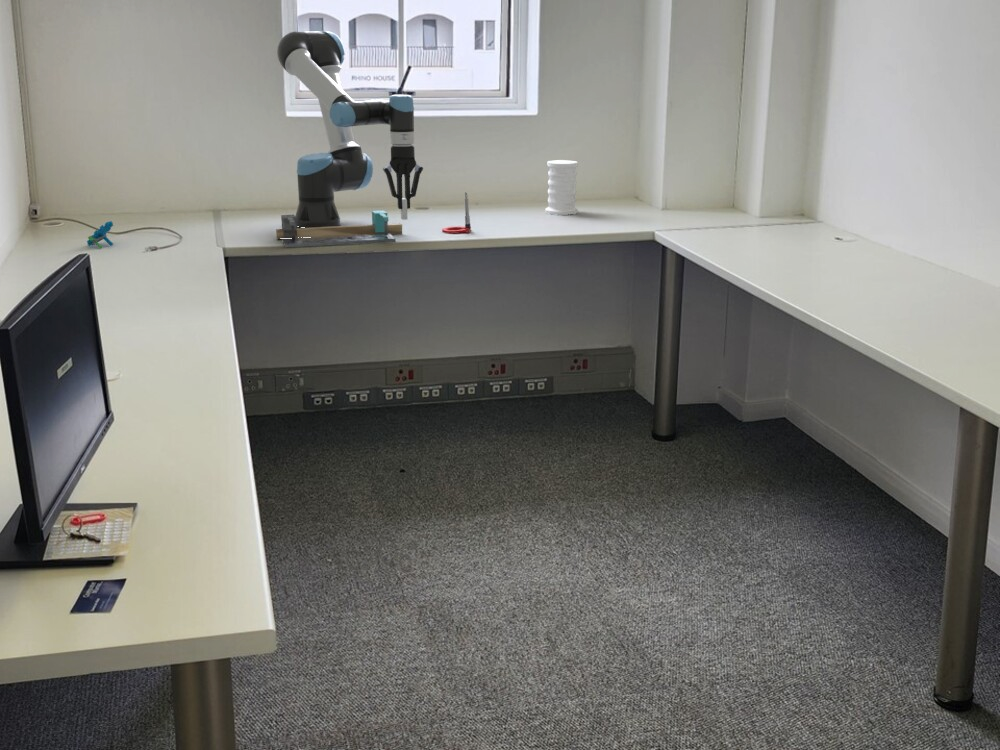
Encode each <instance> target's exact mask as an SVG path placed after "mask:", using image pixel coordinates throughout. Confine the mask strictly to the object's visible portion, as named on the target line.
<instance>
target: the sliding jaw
mask: <svg viewBox="0 0 1000 750" xmlns="http://www.w3.org/2000/svg"><path fill="white" fill-rule="evenodd" d="M371 221H372V223H371V225H373V224H374V225H375V233H377V232H385V235H388V224H389V223H388V222H389V216H388V212H387V211H385V210H371Z"/></svg>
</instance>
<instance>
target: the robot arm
mask: <svg viewBox="0 0 1000 750" xmlns="http://www.w3.org/2000/svg"><path fill="white" fill-rule="evenodd" d="M344 56H345V47H344V44H343V41H342V40H341V38H340V37H339V36H338V35H337V34H336V33H334V32H331V31H325V30H318V31H317V30H315V31H308V30H306V31H299V30H298V31H291V32H289V33H287V34H285V35H284V36H283V37H282V38H281V39H280V41H279V43H278V46H277V59H278V62H279V63H280V65H281V67H282V68H283V69H284V70H285V71H286V72H287V74H289V75H291V76H295V77H296V78H297V79H298V80H299V81H300V82H301V83H302V84H303V85H304V86H305V87H306V88H307V89H308V90H309V91H310V92H311V93H312V94H313V95H314V96H315V97H316V98H317V100H318V104H319V108H320V112H321V116H322V120H323V123H324V128H325V132H326V135H327V139H328V144H329V150H328V152H319V153H310V154H306V155H303V156H301V157H299V159H298V160H297V163H296V166H297V167H296V168H297V169H296V175H297V188H298V189H297V191H298V205H297V210H296V213H295V216H296V224H297V226H299V227H305V228H312V227H332V226H338V225H339V226H341V217H340V214H339V211H338V209H337V207H336V206H337V205H336V203H335V193H337V192H344V191H345V192H346V191H356V190H359V189H364V188H366V187H367V186H368V185H369V184H370V182H371V179H372V177H373V171H374V168H373V167H374V166H373V161H372V160H371V158H370V157H369V155H368V154H366V153H365V152H364V153H363V152H362V147H361V146H360V145H359V144H357V143H356V141H355V138H354V134H353V129H352V127H360V126H371V125H373V126H374V125H389V127H390V128H389V131H390V132H389V134H390V135H389V136H390V144H391V146H390V161H389V164H388V165H387V166H384V167H383V168H382V170H383V172H384V173H385V177H386V178H387V179H386V180H387V182H388V186H389V191H390V193H391V196H392V197H393V198H395V199H397V208H398V209H399V210H400V219H402V221H404V220H405V221H406V220H408V209H409V210H410V209H411V198H413V197H416V195H417V191H418V185H419V182H420V175H421V174H422V172H423V171H424V167H422V166H421V165H419V164H417V161H416V159H415V146H414V144H415V120H414V119H415V116H414V114H415V113H414V112H415V107H414V99H413V96H412V95H409V94H392V95H390V96H389V99H387V100H386V99H379V98H377V99H375V98H374V99H373V98H372V99H370V100H359V101H358V100H356V101H355V100H354V99H353V98H352V97H350V96H349V95H348V94H347V93H346V92H345V90H343V88H342V84H341V81H340V76H339V73H340V72H341V70H342V64H343V63H344V60H345V57H344ZM392 170H393V171H394V173H395V175H396V186H395V182H394V179H393V176H392ZM413 170H414V175H413V180H412V184H411V173H412V172H413ZM403 177H404V197H403ZM299 227H298V228H299Z"/></svg>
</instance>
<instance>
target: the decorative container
mask: <svg viewBox="0 0 1000 750" xmlns="http://www.w3.org/2000/svg"><path fill="white" fill-rule="evenodd" d="M546 163H547V166H546V167H548V172H547V175H548V181H547V185H548V189H547V194H548V197H547V203H548V206H547V207H546V208H544V209H545V211H544V212H546V214H547V213H549V214H548V215H552V214H557V215H556V216H571V215H570V214H573V215H577V214H578V209H579V208H577V207H575V206H576V202H577V199H576V193H577V191H576V185H577V180H576V176H577V171H576V169H577V168H576V167H578V165H579V164H578V163H579V162H578V161H576V160H569V159H566V160H565V159H557V160H556V159H555V160H548V161H547V162H546ZM576 213H577V214H576ZM568 214H569V215H568Z"/></svg>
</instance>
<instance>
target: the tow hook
mask: <svg viewBox="0 0 1000 750" xmlns="http://www.w3.org/2000/svg"><path fill="white" fill-rule="evenodd" d="M468 197H469V196H468V191H467V192H464V211H465V214H464V215H465V216H464V221H465V222H464V226H461V225H459V226H448V227H443V228H442V233H445V234H461V233H466V234H469V233H470V232H471V231H472V227H471V219H470V217H471V215H470V207H469V205H470V204H469V198H468Z"/></svg>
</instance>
